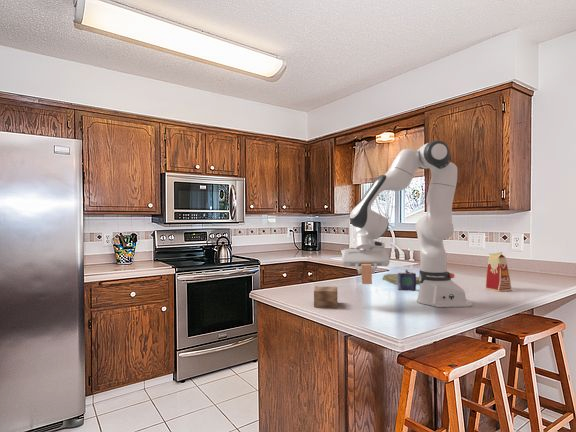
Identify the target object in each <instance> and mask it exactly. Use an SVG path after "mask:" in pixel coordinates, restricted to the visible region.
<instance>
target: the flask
mask: <svg viewBox="0 0 576 432" xmlns="http://www.w3.org/2000/svg"><path fill="white" fill-rule="evenodd" d="M397 274H398V285H397V290H398V291H414V292H416V290H417V284H416V277H417V274H416V272H412V271H408V269H405V270H404V272H397Z"/></svg>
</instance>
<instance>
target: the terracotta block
mask: <svg viewBox="0 0 576 432" xmlns="http://www.w3.org/2000/svg"><path fill="white" fill-rule="evenodd" d="M360 267H361V268H360V269H362V274H361V285H372V284H373V274H372V268H373V266H371V264H361V266H360Z"/></svg>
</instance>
